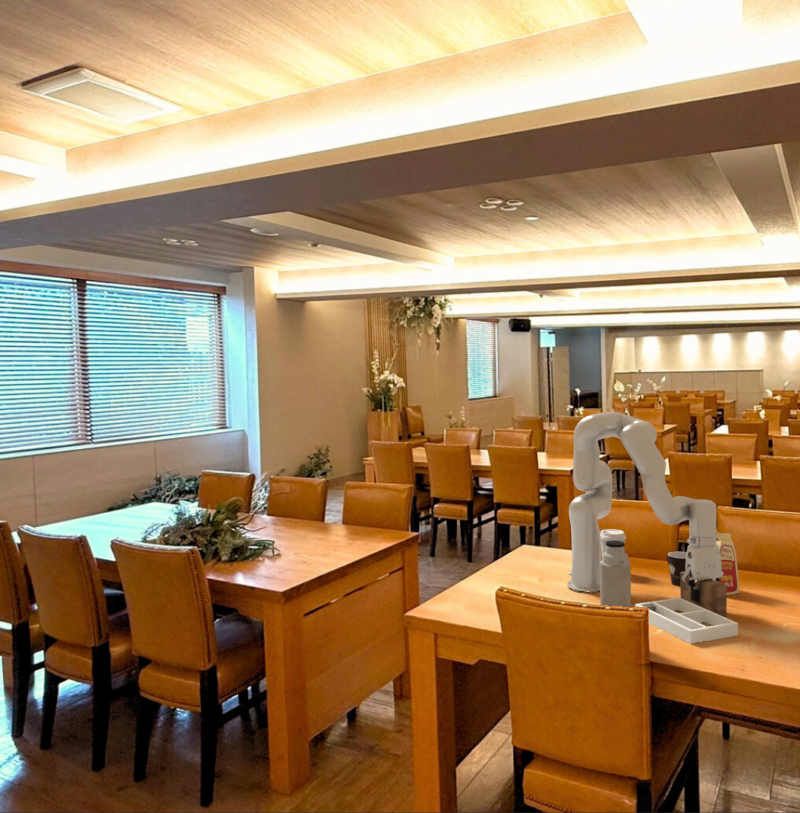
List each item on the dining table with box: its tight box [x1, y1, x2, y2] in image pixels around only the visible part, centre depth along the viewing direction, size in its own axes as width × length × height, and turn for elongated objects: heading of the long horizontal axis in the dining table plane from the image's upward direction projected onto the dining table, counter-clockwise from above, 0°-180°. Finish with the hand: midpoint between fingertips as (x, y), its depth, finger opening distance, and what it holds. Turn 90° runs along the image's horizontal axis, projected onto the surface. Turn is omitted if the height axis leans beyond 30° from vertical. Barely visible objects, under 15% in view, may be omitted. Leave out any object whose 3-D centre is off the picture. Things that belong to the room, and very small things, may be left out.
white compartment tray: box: [634, 596, 739, 645], centre depth 212 cm, size 24×16×4 cm, turn 19°
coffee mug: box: [666, 551, 687, 587], centre depth 251 cm, size 12×9×10 cm
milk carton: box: [716, 531, 740, 596], centre depth 241 cm, size 9×9×20 cm
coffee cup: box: [600, 528, 627, 560], centre depth 264 cm, size 10×10×15 cm
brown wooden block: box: [680, 572, 728, 618], centre depth 223 cm, size 16×3×10 cm, turn 19°
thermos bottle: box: [599, 540, 632, 608], centre depth 199 cm, size 8×8×28 cm
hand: (702, 599), depth 223 cm, fingers open, 4 cm apart
